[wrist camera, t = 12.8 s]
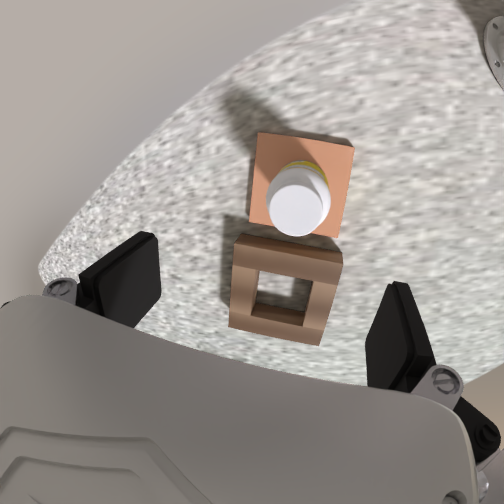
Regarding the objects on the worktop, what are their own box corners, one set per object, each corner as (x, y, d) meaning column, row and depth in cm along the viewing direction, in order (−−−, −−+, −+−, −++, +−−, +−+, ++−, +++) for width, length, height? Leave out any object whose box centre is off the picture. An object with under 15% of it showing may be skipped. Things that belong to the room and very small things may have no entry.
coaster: (260, 132, 29) (257, 132, 28) (353, 147, 27) (354, 147, 26) (251, 219, 33) (249, 221, 32) (337, 234, 32) (337, 238, 31)
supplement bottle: (314, 217, 30) (310, 257, 22) (268, 195, 31) (246, 225, 22) (337, 174, 28) (345, 197, 19) (290, 150, 28) (276, 161, 19)
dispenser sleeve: (241, 233, 34) (234, 243, 32) (341, 252, 32) (343, 264, 30) (234, 313, 40) (228, 326, 37) (320, 331, 38) (318, 345, 35)
